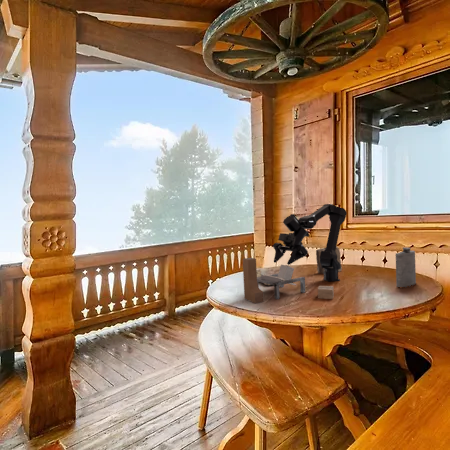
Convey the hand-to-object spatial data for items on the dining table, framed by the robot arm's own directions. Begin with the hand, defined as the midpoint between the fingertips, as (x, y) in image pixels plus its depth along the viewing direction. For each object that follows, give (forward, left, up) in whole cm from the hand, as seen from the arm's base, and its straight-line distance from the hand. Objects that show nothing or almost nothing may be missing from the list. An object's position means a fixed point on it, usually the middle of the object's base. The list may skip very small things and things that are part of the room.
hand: (280, 263), depth 146 cm
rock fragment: (+2, -29, -14) cm, 33 cm away
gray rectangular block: (-1, 0, -8) cm, 8 cm away
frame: (+1, +1, -14) cm, 14 cm away
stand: (-15, +14, -14) cm, 25 cm away
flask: (-59, +7, -14) cm, 61 cm away
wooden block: (+16, +10, -14) cm, 23 cm away
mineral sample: (-41, -35, -14) cm, 56 cm away
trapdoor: (+3, +1, -9) cm, 10 cm away
